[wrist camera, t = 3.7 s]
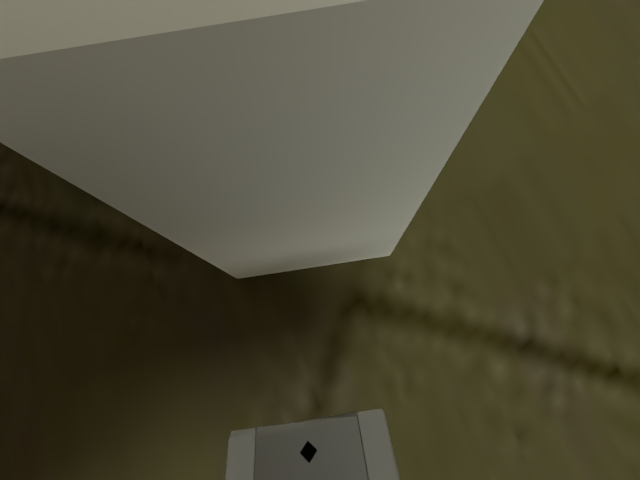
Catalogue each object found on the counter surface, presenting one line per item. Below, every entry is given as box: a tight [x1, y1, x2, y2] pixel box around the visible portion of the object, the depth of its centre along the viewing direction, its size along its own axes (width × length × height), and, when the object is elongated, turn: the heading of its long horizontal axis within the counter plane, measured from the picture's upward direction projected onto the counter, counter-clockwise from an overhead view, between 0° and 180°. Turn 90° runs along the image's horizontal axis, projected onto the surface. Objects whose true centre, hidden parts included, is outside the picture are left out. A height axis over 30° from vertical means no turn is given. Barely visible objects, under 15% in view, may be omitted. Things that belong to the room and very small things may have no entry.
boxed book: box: [0, 0, 544, 279], centre depth 13 cm, size 10×6×15 cm, turn 8°
